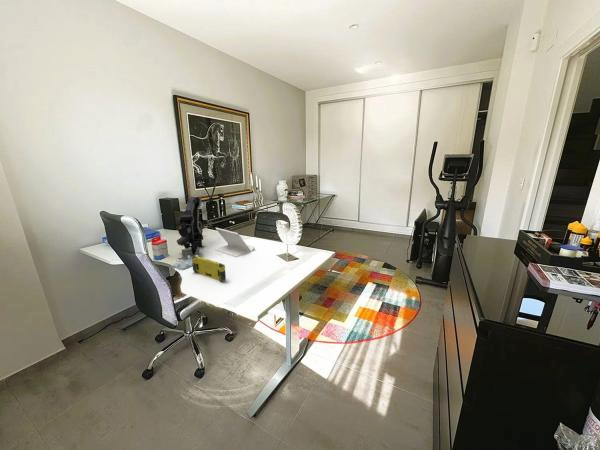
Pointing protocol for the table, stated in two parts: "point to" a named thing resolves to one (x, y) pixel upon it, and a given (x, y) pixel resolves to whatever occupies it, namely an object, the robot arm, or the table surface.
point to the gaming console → (209, 268)
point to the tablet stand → (233, 244)
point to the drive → (189, 252)
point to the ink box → (159, 248)
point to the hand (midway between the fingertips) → (191, 253)
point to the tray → (183, 263)
